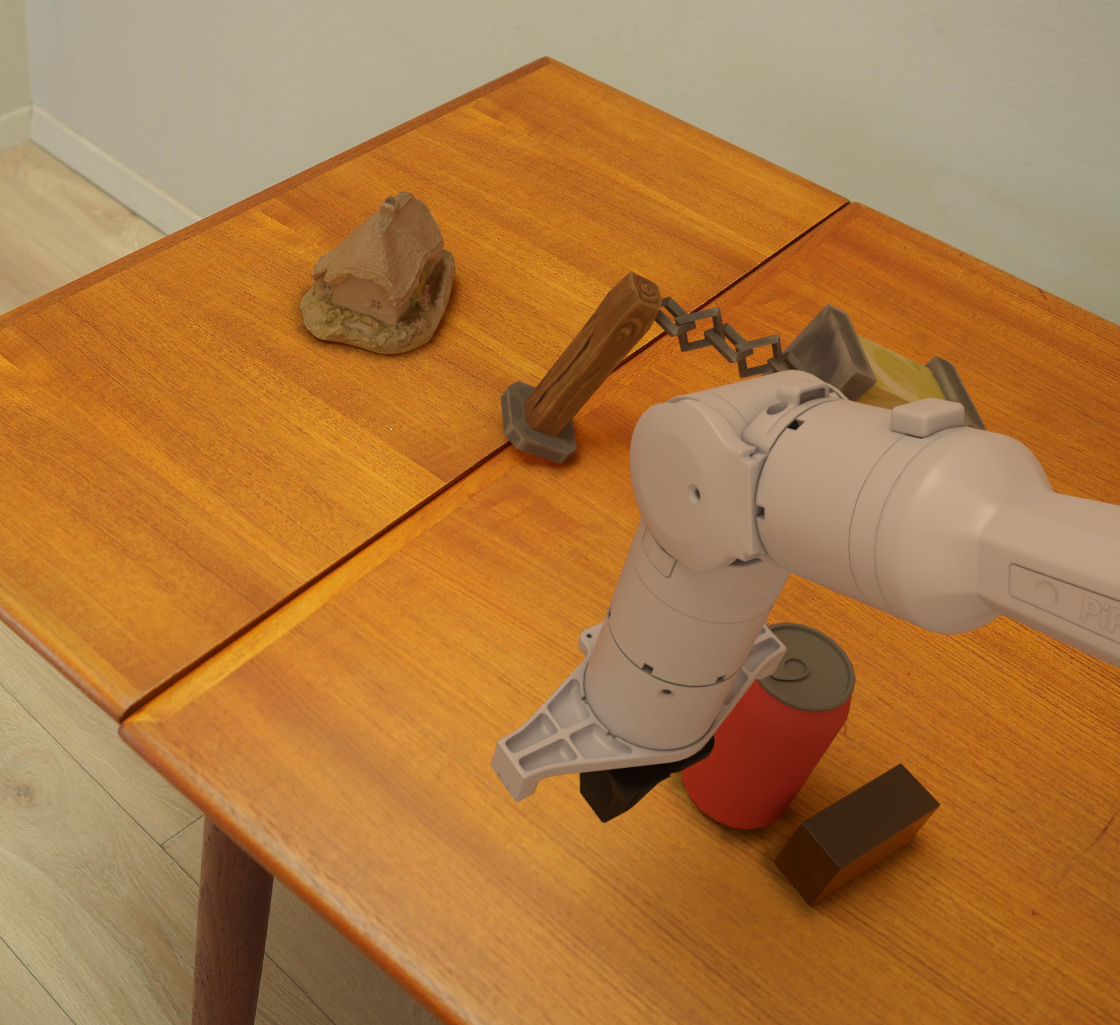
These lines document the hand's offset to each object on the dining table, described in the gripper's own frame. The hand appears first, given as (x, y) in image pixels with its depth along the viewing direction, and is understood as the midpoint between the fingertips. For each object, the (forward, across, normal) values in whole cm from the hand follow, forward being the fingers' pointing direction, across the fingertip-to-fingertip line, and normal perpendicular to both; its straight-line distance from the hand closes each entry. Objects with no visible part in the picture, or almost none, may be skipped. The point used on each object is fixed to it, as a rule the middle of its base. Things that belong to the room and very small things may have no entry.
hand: (602, 801), depth 56 cm
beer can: (+10, -13, -1) cm, 16 cm away
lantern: (+9, -31, -23) cm, 40 cm away
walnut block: (+9, -16, +6) cm, 19 cm away
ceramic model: (+9, -16, -49) cm, 53 cm away
